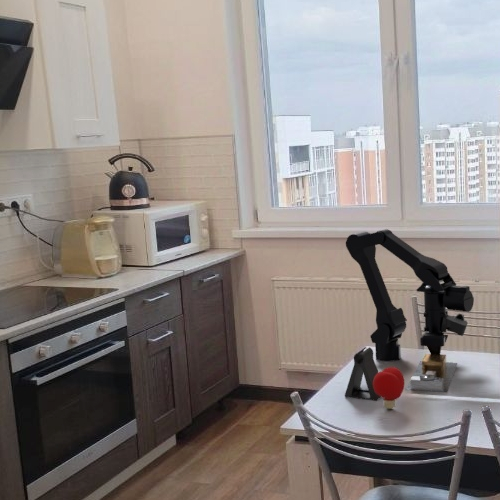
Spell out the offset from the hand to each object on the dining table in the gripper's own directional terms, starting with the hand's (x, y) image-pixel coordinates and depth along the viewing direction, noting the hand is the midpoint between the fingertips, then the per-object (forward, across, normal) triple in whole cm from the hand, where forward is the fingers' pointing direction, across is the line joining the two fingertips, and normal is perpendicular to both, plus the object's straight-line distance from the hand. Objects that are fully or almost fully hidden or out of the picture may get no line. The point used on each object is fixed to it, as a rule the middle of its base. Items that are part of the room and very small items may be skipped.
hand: (436, 361), depth 210 cm
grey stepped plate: (+2, -8, 0) cm, 9 cm away
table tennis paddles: (+2, -33, +8) cm, 34 cm away
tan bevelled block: (+1, -5, 0) cm, 5 cm away
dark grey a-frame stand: (+2, -24, +15) cm, 29 cm away
